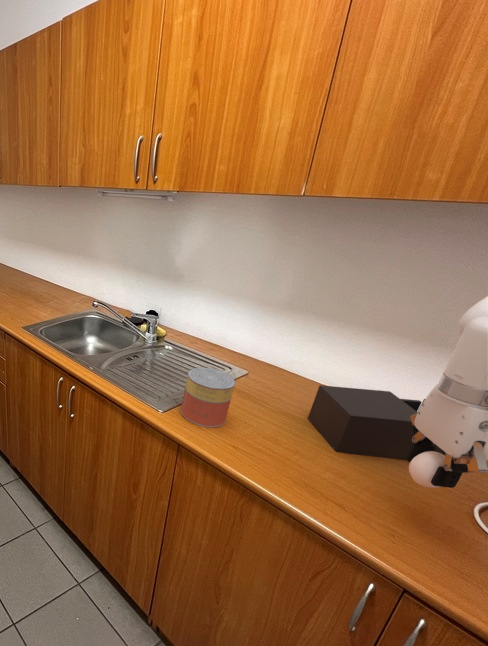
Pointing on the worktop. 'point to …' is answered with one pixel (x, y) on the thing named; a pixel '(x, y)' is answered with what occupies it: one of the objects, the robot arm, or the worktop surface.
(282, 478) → the worktop surface
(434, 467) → the egg
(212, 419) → the canned food
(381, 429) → the dark brown box
